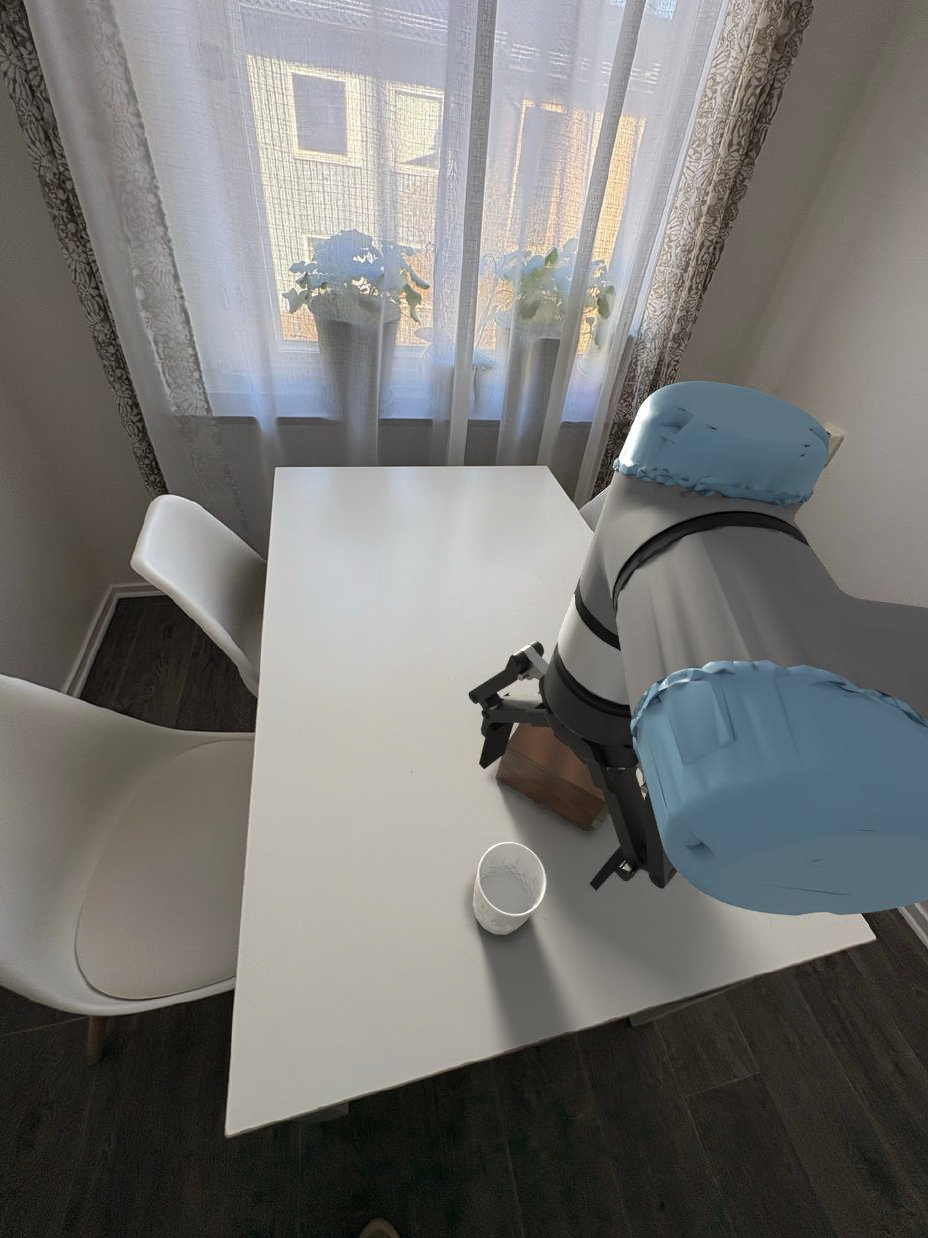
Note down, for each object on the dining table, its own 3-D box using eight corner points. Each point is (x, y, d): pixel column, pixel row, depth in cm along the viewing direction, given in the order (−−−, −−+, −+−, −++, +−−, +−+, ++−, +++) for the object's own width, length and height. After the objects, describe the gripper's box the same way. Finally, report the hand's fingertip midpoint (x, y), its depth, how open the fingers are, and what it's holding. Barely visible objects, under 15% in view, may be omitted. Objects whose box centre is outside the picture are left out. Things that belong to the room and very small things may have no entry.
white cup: (468, 940, 62) (477, 915, 54) (467, 870, 67) (476, 840, 60) (532, 941, 62) (550, 918, 55) (527, 873, 68) (542, 843, 61)
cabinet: (614, 763, 81) (634, 730, 74) (586, 831, 72) (606, 802, 66) (530, 718, 85) (542, 684, 79) (495, 778, 77) (504, 745, 70)
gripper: (851, 776, 27) (685, 903, 42) (516, 535, 39) (481, 700, 54) (790, 872, 23) (631, 974, 38) (439, 570, 35) (424, 738, 50)
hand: (543, 813), depth 46 cm, fingers open, 13 cm apart
